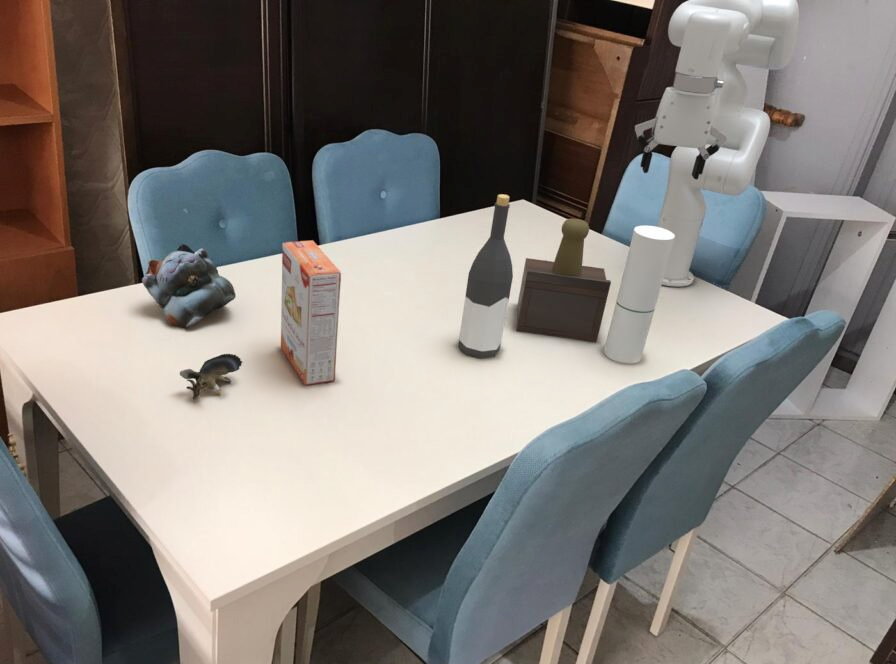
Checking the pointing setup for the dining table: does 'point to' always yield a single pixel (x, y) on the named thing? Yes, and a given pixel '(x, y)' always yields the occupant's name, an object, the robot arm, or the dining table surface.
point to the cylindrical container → (638, 293)
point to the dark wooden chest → (561, 301)
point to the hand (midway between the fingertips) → (669, 174)
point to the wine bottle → (488, 291)
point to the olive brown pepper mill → (571, 248)
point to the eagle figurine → (212, 373)
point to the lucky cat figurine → (187, 286)
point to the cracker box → (309, 311)
